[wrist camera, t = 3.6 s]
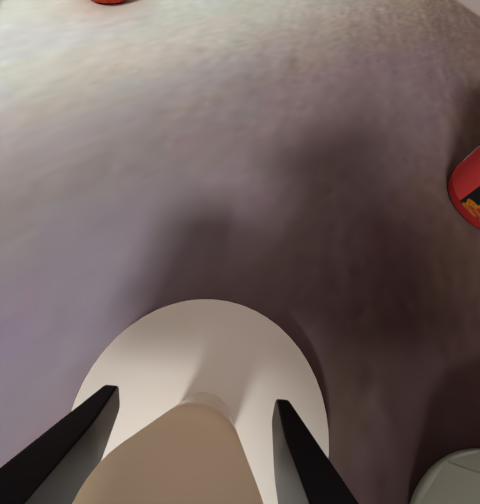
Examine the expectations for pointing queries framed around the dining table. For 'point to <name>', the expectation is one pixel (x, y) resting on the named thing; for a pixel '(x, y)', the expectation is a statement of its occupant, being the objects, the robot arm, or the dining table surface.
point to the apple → (108, 1)
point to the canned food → (467, 187)
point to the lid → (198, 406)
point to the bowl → (451, 480)
